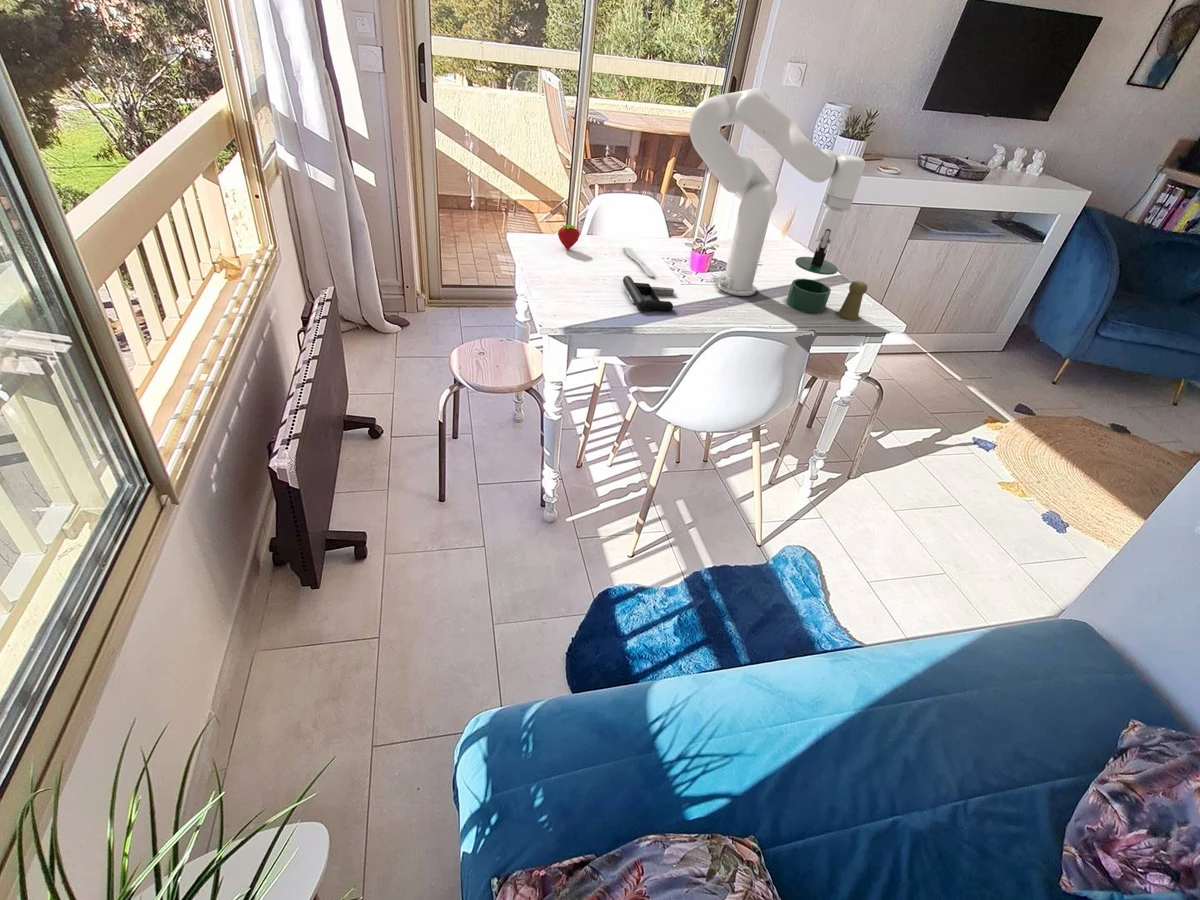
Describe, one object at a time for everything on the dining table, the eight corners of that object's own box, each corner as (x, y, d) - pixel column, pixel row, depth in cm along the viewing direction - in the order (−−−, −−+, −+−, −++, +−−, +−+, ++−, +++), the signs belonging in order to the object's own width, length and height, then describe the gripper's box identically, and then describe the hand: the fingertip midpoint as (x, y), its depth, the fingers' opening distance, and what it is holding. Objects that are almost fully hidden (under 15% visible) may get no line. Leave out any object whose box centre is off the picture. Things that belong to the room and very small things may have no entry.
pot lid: (810, 277, 187) (817, 256, 183) (786, 260, 196) (792, 240, 193) (845, 276, 192) (852, 256, 188) (819, 260, 201) (826, 240, 197)
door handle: (667, 278, 200) (619, 274, 196) (687, 305, 185) (635, 301, 181) (665, 288, 202) (617, 284, 198) (684, 315, 187) (633, 311, 183)
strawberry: (578, 253, 217) (580, 224, 211) (556, 251, 217) (558, 222, 211) (578, 247, 222) (581, 219, 216) (557, 245, 221) (559, 216, 215)
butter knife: (647, 275, 205) (655, 275, 206) (621, 247, 226) (629, 247, 226) (647, 277, 206) (655, 277, 206) (621, 249, 226) (629, 249, 227)
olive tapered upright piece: (858, 321, 195) (871, 287, 189) (839, 317, 196) (851, 284, 189) (856, 313, 200) (868, 280, 193) (837, 310, 201) (848, 277, 194)
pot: (800, 314, 195) (807, 294, 191) (779, 298, 203) (785, 279, 200) (831, 312, 199) (838, 293, 195) (809, 296, 207) (815, 278, 204)
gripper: (827, 193, 189) (807, 253, 200) (822, 205, 177) (801, 268, 188) (852, 199, 187) (831, 258, 198) (849, 211, 175) (826, 274, 186)
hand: (817, 262), depth 193 cm, fingers closed on pot lid, 2 cm apart
